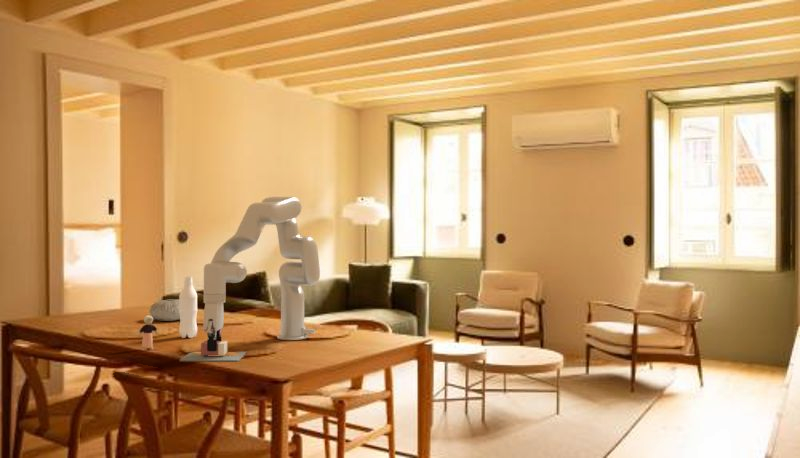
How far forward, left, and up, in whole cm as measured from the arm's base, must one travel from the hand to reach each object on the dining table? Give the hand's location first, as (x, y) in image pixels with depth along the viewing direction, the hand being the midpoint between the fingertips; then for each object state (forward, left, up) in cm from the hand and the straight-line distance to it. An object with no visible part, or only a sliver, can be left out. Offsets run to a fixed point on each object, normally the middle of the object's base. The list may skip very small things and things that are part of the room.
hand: (214, 348), depth 228 cm
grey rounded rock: (+44, -83, -3) cm, 94 cm away
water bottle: (+21, -38, -3) cm, 44 cm away
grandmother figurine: (+28, -13, -3) cm, 31 cm away
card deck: (0, 0, -2) cm, 2 cm away
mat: (0, 0, -3) cm, 3 cm away
